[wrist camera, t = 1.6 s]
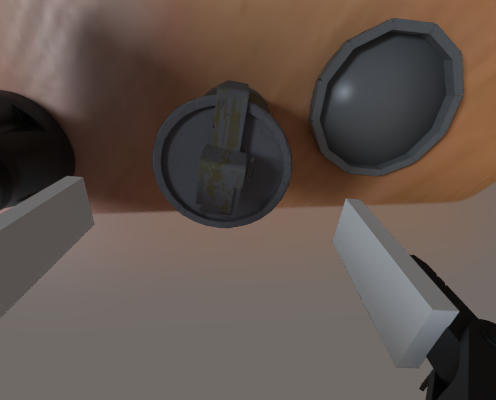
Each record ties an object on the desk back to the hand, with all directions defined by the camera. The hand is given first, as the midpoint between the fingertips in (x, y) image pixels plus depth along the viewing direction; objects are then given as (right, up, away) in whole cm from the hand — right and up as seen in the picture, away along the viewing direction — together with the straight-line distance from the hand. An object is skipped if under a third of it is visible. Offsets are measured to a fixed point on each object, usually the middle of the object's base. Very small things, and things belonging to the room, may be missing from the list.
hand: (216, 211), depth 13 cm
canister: (0, +11, +21) cm, 24 cm away
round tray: (+19, +13, +20) cm, 30 cm away
